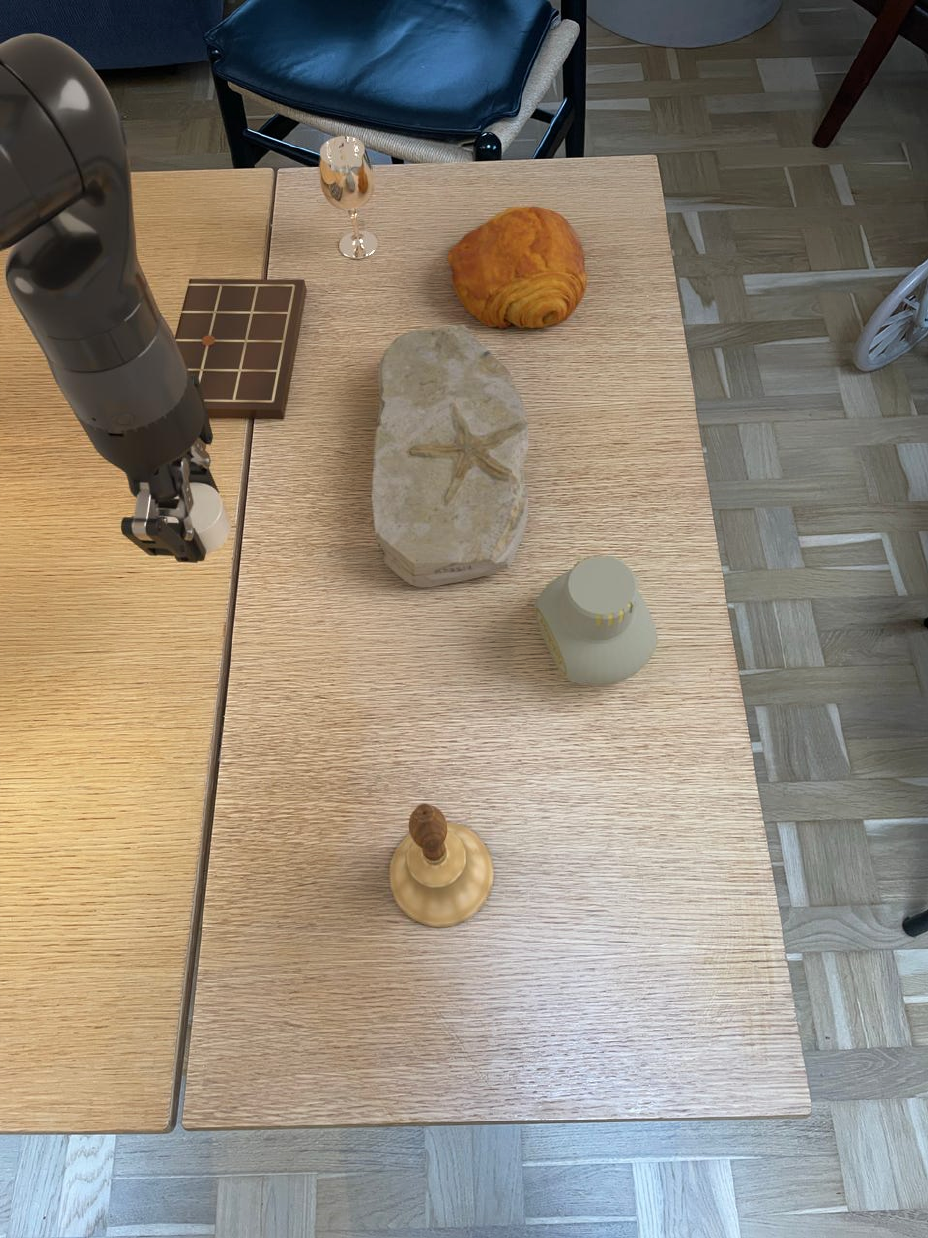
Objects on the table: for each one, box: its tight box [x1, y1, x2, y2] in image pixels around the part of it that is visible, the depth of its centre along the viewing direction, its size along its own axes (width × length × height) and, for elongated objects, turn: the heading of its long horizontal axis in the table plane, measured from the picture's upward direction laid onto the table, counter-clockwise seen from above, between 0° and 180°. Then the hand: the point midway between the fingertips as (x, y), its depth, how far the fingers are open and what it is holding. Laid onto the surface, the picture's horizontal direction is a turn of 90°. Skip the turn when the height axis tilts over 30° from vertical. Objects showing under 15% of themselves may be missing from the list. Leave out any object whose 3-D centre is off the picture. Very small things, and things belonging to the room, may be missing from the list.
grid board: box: [174, 278, 308, 420], centre depth 104 cm, size 18×18×2 cm
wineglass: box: [318, 135, 379, 260], centre depth 105 cm, size 6×6×12 cm
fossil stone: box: [370, 323, 530, 588], centre depth 94 cm, size 28×15×5 cm, turn 0°
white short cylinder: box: [167, 482, 232, 555], centre depth 75 cm, size 5×5×3 cm
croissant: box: [446, 205, 588, 330], centre depth 104 cm, size 14×16×8 cm
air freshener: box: [533, 554, 659, 687], centre depth 82 cm, size 11×8×10 cm
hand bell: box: [388, 802, 495, 928], centre depth 71 cm, size 8×8×16 cm
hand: (199, 526), depth 76 cm, fingers closed on white short cylinder, 4 cm apart
